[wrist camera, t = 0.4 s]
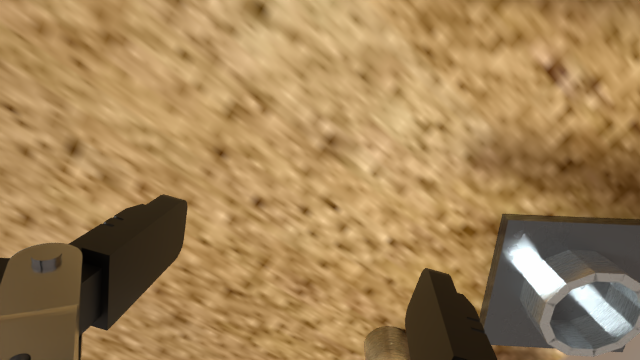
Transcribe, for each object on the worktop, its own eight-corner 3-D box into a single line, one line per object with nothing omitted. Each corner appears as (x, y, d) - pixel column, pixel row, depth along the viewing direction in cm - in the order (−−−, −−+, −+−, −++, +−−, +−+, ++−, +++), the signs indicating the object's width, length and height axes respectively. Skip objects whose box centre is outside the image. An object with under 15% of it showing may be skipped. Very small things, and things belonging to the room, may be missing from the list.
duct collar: (502, 214, 32) (528, 239, 27) (662, 220, 31) (715, 248, 27) (475, 335, 37) (494, 373, 32) (613, 342, 36) (651, 383, 32)
